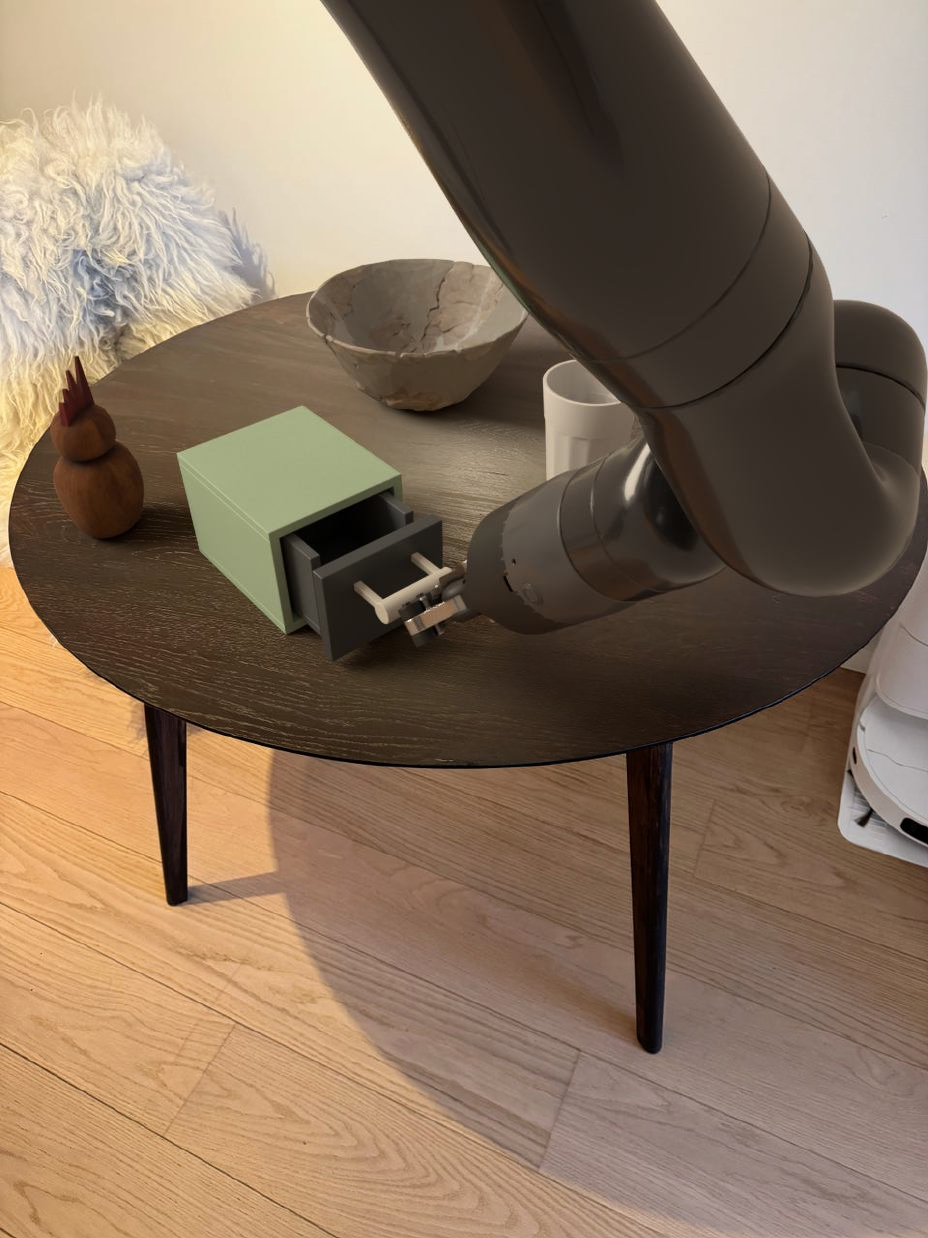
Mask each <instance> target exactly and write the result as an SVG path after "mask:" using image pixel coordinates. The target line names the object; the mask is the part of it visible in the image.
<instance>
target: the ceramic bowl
mask: <svg viewBox="0 0 928 1238" xmlns="http://www.w3.org/2000/svg"><path fill="white" fill-rule="evenodd" d="M305 309H306V310H305V314H306V315H305V316H306V319H307V320H306V322H307V324H308V327H309V328H310V329H311V330H312V332H313V333H314V334H315V336H316V337H317V338H318V339H319V340H320V341H321V342H322V343H323V344H324V345H325V346H326V347H327V348H328V349H329V350H330V352H332V354H333V355H334V357H335V359H337V361H338V362H339V364H340V366H341V367H342V369H343V371H344V373H346V375H347V376H348V378H349V379H350V381H351V383H352V385H353V386H354V387H355V388H356V389H358V390H359V391H360V392H361V393H363V394H364V395H366V396H368V397H370V398H372V399H373V400H376V401H378V402H380V403H382V404H383V405H385V406H387V407H390V408H393V409H396V410H413V411H415V412H423V411H437V410H440V409H443V408H444V407H450V406H451V405H455V404H459V403H460V402H463V401H465V399H467V398H468V397H469V396H470V395H471V394H472V393H473V391H475V390H477V388H479V387H480V386H481V385H482V384H483V383H484V382H485V381H486V380H487V379H488V378H489V377H490V375H492V374H493V372H495V370H496V369H497V367H498V366H499V364H500V363H501V362H502V361H503V359H504V357H505V356H506V354H508V352H509V350H510V348H511V347H512V345H513V342H514V341H515V340H516V338H517V337H518V335H519V333H520V332H521V330H522V328H523V326H524V325H525V322H526V321H527V320H528V318H529V316H530V314H529V313H528V312H527V311H526V310H525V309H524V308H523V306H522V305H521V304H520V303H519V302H518V301H517V300H516V298H515V297H514V296H513V295H512V294H511V292H510V291H509V290H508V289H507V287H506V286H505V285H504V284H503V283H502V281H501V280H500V279H499V277H498V276H497V275H496V273H495V272H494V271H493V269H492V268H491V266H488V265H482V264H474V263H473V262H468V261H462V260H459V261H455V260H453V259H442V258H441V259H440V258H398V259H390V260H384V261H378V262H373V263H368V264H361V265H359V266H355V267H352V268H350V269H346V270H344V271H341V272H339V273H336V274H335V275H332V276H331V277H329V278H328V279H326V280H325V281H324V282H323V283H322V284H320V286H318V288H317V289H316V290H315V291H314V292H313V293H312V294H311V296H310V298H309V300H308V301H307V304H306V307H305Z"/></svg>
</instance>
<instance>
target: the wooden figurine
mask: <svg viewBox="0 0 928 1238" xmlns="http://www.w3.org/2000/svg"><path fill="white" fill-rule="evenodd" d="M74 368H75V378H74V376H73V374H72V372H71V370H70V369H66V370H65V376H66V383H67V388H63V387H62V389H61V393H62V399H63V402H62V401H59V402H58V411H57V412H55V414H53V417H52V420H51V422H50V425H49V434H50V438H51V441H52V443H53V445H54V447H55V449H56V451H57V453H58V454H59V455H60V457H59V458H58V460H57V462H56V464H55V467H54V469H53V473H52V476H53V478H52V479H53V481H52V482H53V485H54V490H55V493H56V495H57V497H58V499H59V502H60V503H61V506H62V507H63V509H64V510H65V512H66V514H67V515H68V517H69V518H70V519H71V521H72V522H73V524H74V525H75V527H77V528H78V529H79V530H80V531H81V532H82V533H83V534H85V535H86V536H89V537H92V538H97V539H109V538H114V537H117V536H120V535H122V534H124V533H126V532H128V531H129V530H130V529H132V528H133V527H134V526H135V525H136V523H137V522H139V520H140V519H141V516H142V513H143V508H144V501H145V500H144V499H145V482H144V478H143V474H142V471H141V468H140V466H139V464H138V463H139V462H138V461H137V460H136V458H135V457H134V455H133V454H132V452H131V451H130V450H129V448H128V447H127V446H125V445H124V444H122V443H121V442H119V441H118V440H116V439H117V430H116V426H115V423H114V419H113V418H112V417H111V415H110V413H109V412H108V410H107V409H106V408H104V407H103V406H100V405H98V404H96V403H95V400H94V397H93V393H92V390H91V387H90V384H89V382H88V378H87V376H86V372H85V371H84V367H83V365H82V361H81V359H80V356H79V355H75V356H74Z"/></svg>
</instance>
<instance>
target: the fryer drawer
mask: <svg viewBox="0 0 928 1238" xmlns="http://www.w3.org/2000/svg"><path fill="white" fill-rule="evenodd" d="M414 512H415V511H414V509H412V508H411V507H410V506H408V505H407V504H405V503H404V502H403V503H402V502H401V501H400V500H398V499H397V498H396V497H394V496H393V495H391V494H390V493H389V492H387V491H386V490H384V491H381V492H379V493H377V494H375V495H373V496H370V497H368V498H366V499H364V500H362V501H359V502H357V503H355V504H353V505H351V506H348V507H346V508H344V509H342V510H340V511H337V512H335V513H333V514H331V515H329V516H326V517H324V518H322V519H320V520H318V521H315V522H313V523H311V524H309V525H307V526H304V527H302V528H300V529H298V530H296V531H293V532H291V533H289V534H287V535H285V536H282V537H280V538H279V540H280V546H281V552H282V558H283V564H284V570H285V576H286V582H287V588H288V594H289V600H290V606H291V609H292V610H293V611H294V612H296V613H297V614H298V615H299V616H300V617H301V618H302V619H303V620H304V621H305V622H306V623H307V624H306V625H308V626H309V627H310V628H311V629H312V630H313V631H315V632H316V633H317V634H318V635H319V636H320V637H321V642H322V649H323V654H324V655H325V656H326V657H327V658H328V659H329V660H330V661H332V662H336V661H338V660H339V659H341V658H343V657H346V655H348V654H350V653H352V652H354V651H356V650H358V649H359V648H361V647H364V646H365V645H366V644H369V643H370V642H372V641H374V640H375V639H378V638H379V637H382V636H383V635H385V634H386V633H387V634H388V633H389V632H390V631H392V630H394V629H396V628H397V627H400V626H402V625H403V624H404V621H403V620H402V618H401V616H400V614H399V612H398V610H399V609H400V608H402V607H403V606H402V605H403V604H405V603H407V602H409V601H412V600H414V599H415V598H417V597H416V595H418V594H420V593H422V592H423V594H424V593H426V592H428V591H430V590H432V589H434V586H435V585H437V584H439V578H440V577H442V576H444V575H446V574H447V573H449V572H451V571H453V570H452V569H451V568H450V567H448V566H444V548H443V547H444V543H443V542H444V541H443V540H444V539H443V519H441V518H440V517H439V516H438V515H436V514H435V513H433V512H432V513H429V514H427V515H425V516H423V517H421V518H419V519H417V520H415V516H414V515H415V513H414Z"/></svg>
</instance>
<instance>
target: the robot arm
mask: <svg viewBox="0 0 928 1238" xmlns="http://www.w3.org/2000/svg"><path fill="white" fill-rule="evenodd" d="M319 1H320V3H321V4H322V6H323V7H324V8H325V10H326V11H327V12H328V13H329V15H330V17H331V18H332V20H333V21H334V22H335V23H336V25H337V26H338V27H339V29H340V30H341V31H342V33H343V35H344V36H345V37H346V39H347V41H348V42H349V43H350V45H351V47H352V48H353V49H354V51H355V53H356V54H357V56H358V58H359V59H360V60H361V62H362V63H363V65H364V66H365V68H366V70H367V71H368V73H369V74H370V76H371V77H372V79H373V80H374V82H375V84H376V85H377V87H378V88H379V90H380V91H381V93H382V94H383V97H384V98H385V99H386V101H387V103H388V104H389V106H390V108H391V110H392V111H393V113H394V115H395V116H396V118H397V120H398V121H399V123H400V125H401V127H403V129H404V131H405V133H406V134H407V136H408V138H409V139H410V141H411V143H412V144H413V146H414V148H415V149H416V151H417V152H418V154H419V156H420V158H421V159H422V160H423V163H424V164H425V165H426V167H427V169H428V171H429V173H430V174H431V175H432V177H433V179H434V181H435V183H436V184H437V186H438V187H439V189H440V191H441V192H442V194H443V196H444V197H445V199H446V200H447V202H448V205H450V207H451V209H452V210H453V212H454V214H455V215H456V217H457V218H458V220H459V222H460V223H461V225H462V227H463V229H464V230H465V231H466V233H467V234H468V236H469V238H470V239H471V241H472V242H473V243H474V245H475V246H476V247H477V249H478V251H479V253H480V254H481V256H482V257H483V258H484V260H485V262H486V263H487V264H488V265H489V267H491V268H492V269H493V271H494V272H495V273H496V275H497V276H498V277H499V279H500V280H501V281H502V283H503V284H504V285H505V286H506V287H507V289H508V290H509V291H510V292H511V294H512V295H513V296H514V297H515V298H516V300H517V301H518V302H519V303H520V304H521V305H522V306H523V308H524V309H525V310H526V311H527V312H528V313H529V316H530V317H532V318H533V319H534V320H535V321H536V323H537V324H538V325H539V326H540V327H541V328H542V329H543V330H544V331H545V332H546V333H547V334H548V335H549V336H550V337H551V338H552V339H553V340H554V341H555V342H556V343H557V344H558V345H559V346H560V347H562V349H563V350H564V351H565V352H566V353H568V355H569V356H570V357H571V358H573V360H576V361H577V362H578V363H579V364H580V365H581V366H582V367H584V368H585V369H586V370H587V371H588V372H589V373H590V374H591V375H592V376H593V377H594V378H595V379H596V380H597V381H598V382H599V383H601V384H602V385H603V386H604V387H605V388H606V389H607V390H608V391H609V392H610V393H612V394H613V395H614V396H615V397H616V398H617V399H618V400H619V401H620V402H621V403H622V404H624V405H625V406H626V407H627V408H628V409H629V410H630V411H632V412H633V414H634V416H635V419H636V421H637V423H638V426H639V428H640V430H641V433H640V434H639V435H638V436H637V437H636V438H635V439H633V440H631V441H629V443H627V444H625V445H623V446H621V447H620V448H618V449H616V450H614V451H612V452H611V453H609V454H607V455H605V456H603V457H601V458H599V459H598V460H596V461H594V462H592V463H590V464H588V465H585V466H582V467H579V468H575V469H572V470H569V471H566V472H564V473H561V474H559V475H557V476H555V477H553V478H551V479H549V480H548V481H547V480H545V482H542V483H541V484H539V485H537V486H535V487H533V488H531V489H529V490H528V491H526V492H524V493H522V494H520V495H519V496H517V497H515V498H514V499H511V500H510V501H508V502H506V503H504V504H503V505H501V506H499V507H497V508H495V509H494V510H492V511H490V512H489V513H487V515H486V516H485V517H483V518H482V519H481V521H480V522H479V523H478V525H477V526H476V527H475V529H474V531H473V533H472V535H471V537H470V540H469V544H468V547H467V554H466V559H465V560H463V561H461V562H460V563H457V564H456V565H454V569H453V570H452V571H451V572H449V573H447V574H446V575H444V576H442V577H440V578H439V584H437V585H435V586H434V589H432V590H430V591H428V592H426V593H424V594H423V592H422V593H420V594H418V595H416V597H417V598H415V599H414V600H412V601H409V602H407V603H405V604H403V605H402V606H403V607H402V608H400V609H399V610H398V612H399V614H400V616H401V618H402V620H403V621H404V623H403V624H404V626H405V628H406V630H407V632H408V634H409V636H410V637H411V639H412V641H413V643H414V645H415V647H416V649H419V648H420V647H423V648H426V647H427V646H430V645H431V644H432V641H434V640H435V639H436V638H437V637H439V636H441V635H442V634H444V633H445V629H446V628H447V625H450V624H453V625H454V624H456V623H459V624H460V625H461V626H462V627H464V628H465V627H470V626H472V625H476V624H479V623H481V624H482V625H485V626H487V625H489V624H493V623H496V624H498V625H499V626H500V627H503V628H504V629H507V630H508V631H510V632H513V633H516V634H520V635H525V636H538V635H546V634H548V633H549V634H550V633H552V632H556V631H559V630H562V629H567V628H569V627H573V626H577V625H580V624H583V623H587V622H590V621H594V620H598V619H601V618H605V617H608V616H612V615H615V614H618V613H620V612H622V611H624V610H627V609H629V608H631V607H632V606H635V605H636V604H637V603H640V602H642V601H645V600H648V599H650V598H654V597H657V596H661V595H664V594H667V593H670V592H674V591H678V590H682V589H686V588H689V587H692V586H693V587H694V586H695V585H699V584H701V583H704V582H706V581H708V580H710V579H712V578H713V577H716V575H718V574H720V573H722V572H723V571H724V570H725V569H726V568H727V567H728V568H730V569H731V570H733V571H734V572H736V573H737V574H738V575H739V576H741V577H743V578H744V579H746V580H748V581H750V582H752V583H754V584H756V585H758V586H760V587H762V588H765V589H767V590H770V591H772V592H776V593H780V594H784V595H788V596H792V597H798V598H807V599H808V598H810V599H811V598H812V599H816V598H817V599H819V598H820V599H821V598H834V597H837V596H843V595H846V594H850V593H854V592H856V591H858V590H861V589H864V588H866V587H868V586H870V585H871V584H873V583H876V582H877V581H878V580H880V579H881V578H882V577H884V576H885V575H886V574H887V573H888V572H890V571H891V570H892V569H893V568H894V567H895V566H896V565H897V563H898V562H899V561H900V559H902V557H903V555H904V554H905V553H906V551H907V550H908V548H909V545H910V543H911V541H912V539H913V536H914V533H915V529H916V525H917V522H918V516H919V515H918V514H919V506H920V495H921V477H922V463H923V452H924V451H923V450H924V437H925V423H926V421H925V418H926V411H927V401H928V363H927V357H926V356H927V355H926V352H925V349H924V346H923V344H922V342H921V340H920V338H919V336H918V334H917V332H916V331H915V329H914V328H913V327H912V326H911V325H910V323H908V322H907V321H906V320H904V319H903V318H902V317H901V316H900V315H898V314H897V313H895V312H893V311H892V310H890V309H888V308H886V307H883V306H881V305H878V304H874V303H872V302H868V301H864V300H856V299H834V297H833V296H834V295H833V291H832V287H831V283H830V280H829V276H828V274H827V271H826V267H825V264H824V263H823V260H822V258H821V256H820V254H819V252H818V251H817V249H816V247H815V245H814V242H813V241H812V240H811V238H810V236H809V235H808V233H807V232H806V231H805V229H804V228H803V225H802V224H801V223H802V222H800V220H799V219H798V217H797V215H796V214H795V213H794V211H793V208H791V206H790V204H789V203H788V201H787V200H786V198H785V197H784V195H783V194H782V192H781V190H780V189H779V187H778V185H777V184H776V182H775V181H774V179H773V178H772V176H771V175H770V173H769V171H768V169H766V167H765V165H764V164H763V162H762V161H761V159H760V158H759V155H757V153H756V152H755V149H753V147H752V145H751V144H750V142H749V141H748V139H747V138H746V135H745V134H744V132H743V131H742V130H741V128H740V127H739V125H738V123H737V122H736V121H735V119H734V117H733V116H732V114H731V113H730V112H729V110H728V109H727V107H726V105H725V104H724V102H723V101H722V99H721V98H720V96H719V94H718V93H717V92H716V90H715V89H714V87H713V85H712V84H711V83H710V81H709V79H708V78H707V77H706V76H705V74H704V72H703V70H702V69H701V68H700V66H699V64H698V63H697V61H696V60H695V58H694V57H693V55H692V53H691V52H690V51H689V49H688V48H687V46H686V45H685V43H684V41H683V40H682V38H681V36H680V35H679V34H678V33H677V31H676V29H675V28H674V26H673V25H672V23H671V22H670V20H669V18H668V17H667V16H666V14H665V13H664V11H663V9H662V8H661V6H660V4H659V3H658V2H657V0H319Z"/></svg>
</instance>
